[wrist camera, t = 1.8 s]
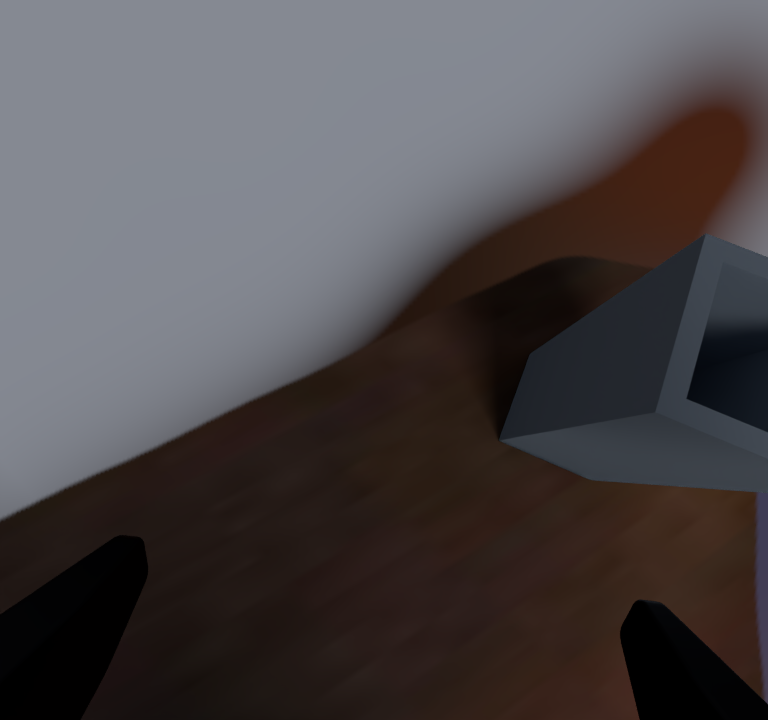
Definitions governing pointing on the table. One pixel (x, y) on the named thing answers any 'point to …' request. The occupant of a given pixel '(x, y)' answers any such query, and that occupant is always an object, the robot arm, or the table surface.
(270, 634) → the table surface
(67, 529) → the table surface
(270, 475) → the table surface
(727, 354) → the grey hollow square tube
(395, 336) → the table surface
